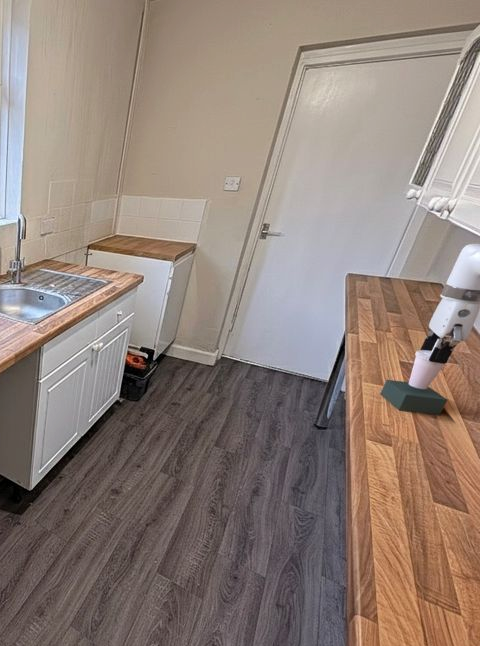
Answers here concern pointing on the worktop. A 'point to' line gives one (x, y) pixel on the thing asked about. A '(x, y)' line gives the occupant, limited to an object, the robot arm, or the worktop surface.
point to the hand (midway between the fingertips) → (432, 356)
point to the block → (413, 398)
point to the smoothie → (424, 369)
